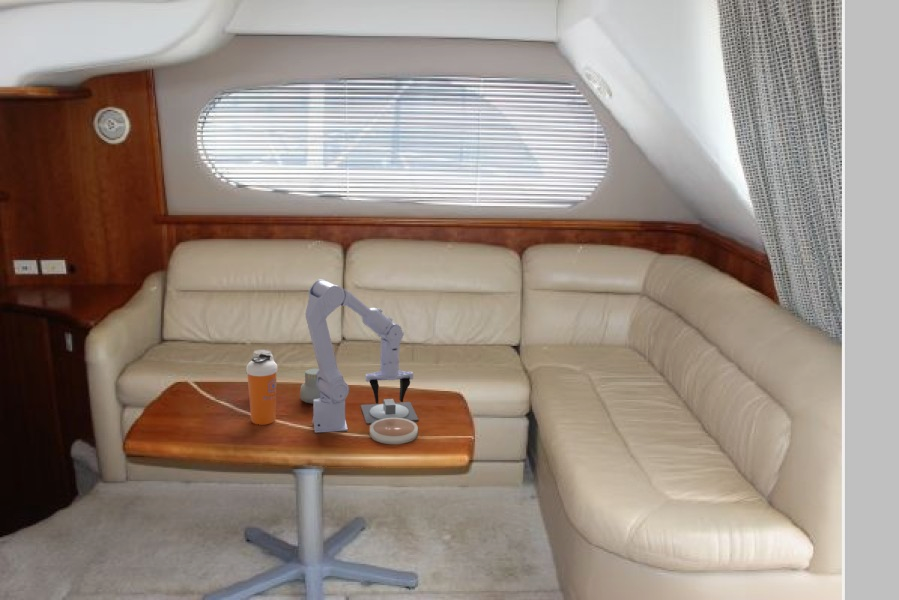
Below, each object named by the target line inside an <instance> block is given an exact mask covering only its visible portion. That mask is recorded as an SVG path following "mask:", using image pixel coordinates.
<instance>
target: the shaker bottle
mask: <svg viewBox="0 0 899 600" xmlns="http://www.w3.org/2000/svg"><path fill="white" fill-rule="evenodd" d="M245 370H246V375H247V385H248V386H247V387H248V398H249V408H250V409H249V411H250V421H251V423H253V424H254V425H258V424H259V426H261V425H263V426H264V425H270V424H272V423H275V421H276V414H277V413H276V411H277V410H276V408H277V407H276V406H277V372H278V364H277V362H275V359H274V355H273V354H272V355H267V354H259V356H258V357H255V358H253V357H252V358H251V360H250V361H249V362H248V363H247V365H246V368H245Z"/></svg>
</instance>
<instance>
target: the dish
mask: <svg viewBox="0 0 899 600" xmlns="http://www.w3.org/2000/svg"><path fill="white" fill-rule="evenodd" d="M418 433H419V426H418V425H417V423H416V422H415V421H410V420H408V419H403V418H384V419H380V420H377V421H375V422H373V423H372V424H369V436H370V437H369V438H371V439H372V440H373V441H375V442H378V443H380V444H385V445H402V444H407V443H411V442H412V441H414V440H415V439H417V437H418V436H419V435H418Z"/></svg>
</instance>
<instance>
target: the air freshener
mask: <svg viewBox="0 0 899 600" xmlns="http://www.w3.org/2000/svg"><path fill="white" fill-rule="evenodd" d="M318 371H319V368H310V369H307V370H305V372H304V382H303V383H302V384H301V385H300V392H299V398H300V400H301V401H303V402H304V403H307V404H310V405H311V404H312V405H313V400H314V399H318V398H320V391H319V390H318V388H317V385H316V383H317V372H318Z"/></svg>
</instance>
